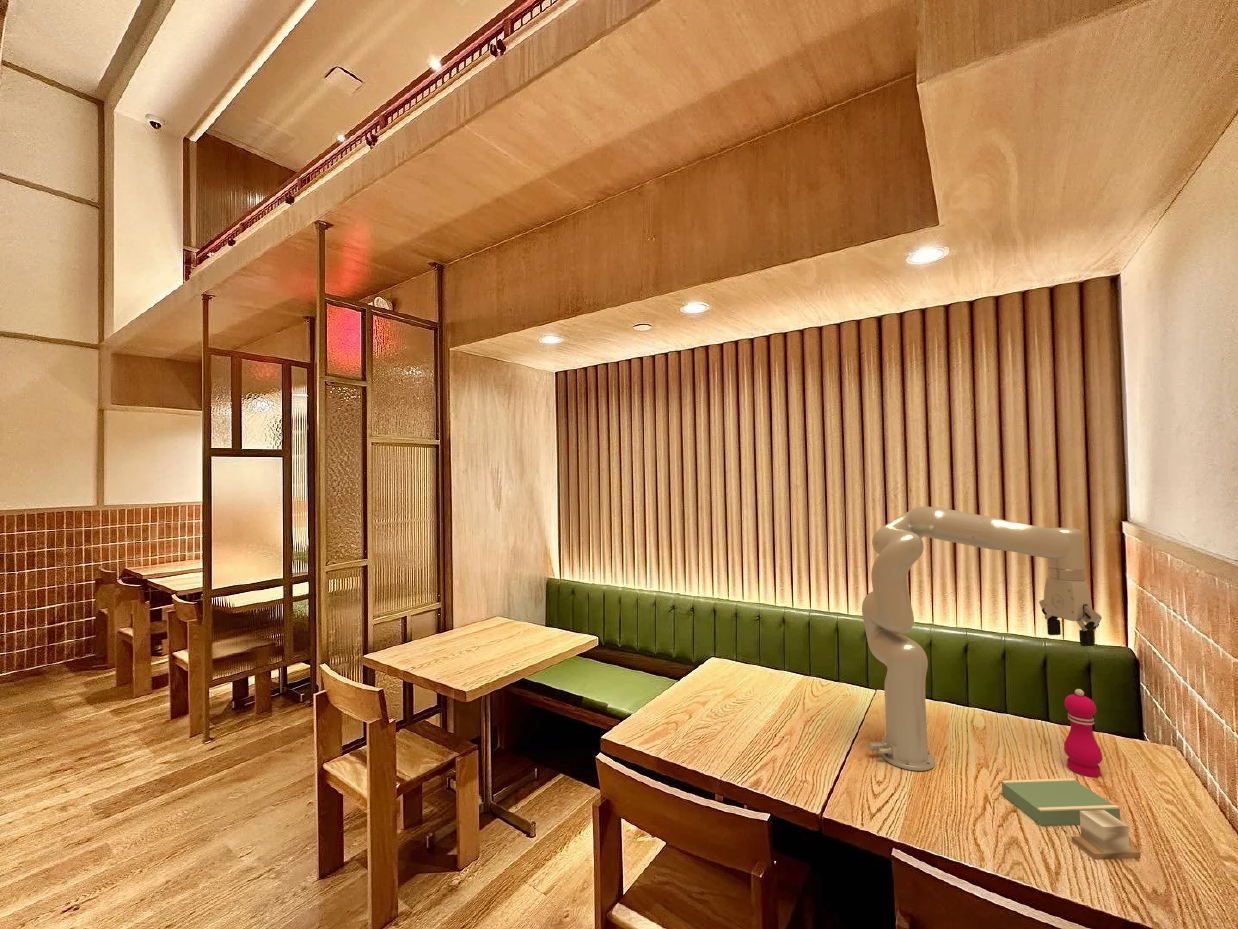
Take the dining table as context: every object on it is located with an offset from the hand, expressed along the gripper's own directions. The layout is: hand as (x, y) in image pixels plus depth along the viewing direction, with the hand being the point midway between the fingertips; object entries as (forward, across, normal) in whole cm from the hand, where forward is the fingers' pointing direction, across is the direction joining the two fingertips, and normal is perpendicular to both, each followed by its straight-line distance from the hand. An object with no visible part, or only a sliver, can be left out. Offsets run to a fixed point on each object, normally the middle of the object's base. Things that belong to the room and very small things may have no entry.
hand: (1070, 640), depth 139 cm
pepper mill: (+31, +6, -4) cm, 31 cm away
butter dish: (+31, +33, -25) cm, 52 cm away
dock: (+30, +20, -23) cm, 43 cm away
